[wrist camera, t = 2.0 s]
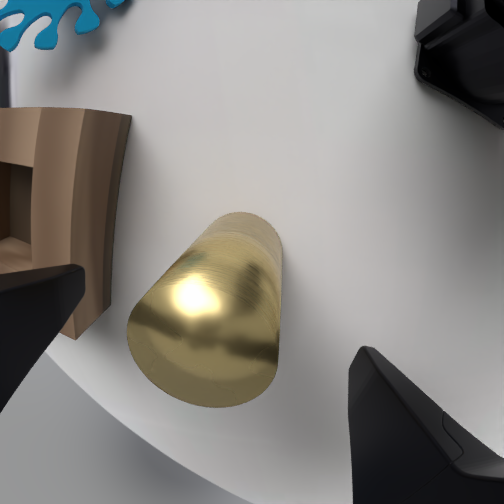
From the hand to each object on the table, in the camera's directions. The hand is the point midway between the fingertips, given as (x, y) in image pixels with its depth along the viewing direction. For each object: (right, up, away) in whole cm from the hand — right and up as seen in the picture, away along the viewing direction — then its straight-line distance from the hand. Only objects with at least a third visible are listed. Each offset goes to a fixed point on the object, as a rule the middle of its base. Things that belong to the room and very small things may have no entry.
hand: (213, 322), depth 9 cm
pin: (+1, +2, +6) cm, 7 cm away
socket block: (-12, +5, +6) cm, 14 cm away
